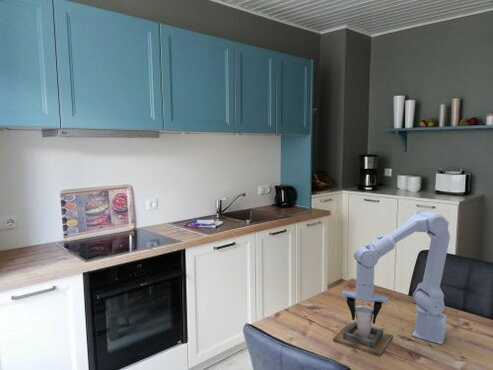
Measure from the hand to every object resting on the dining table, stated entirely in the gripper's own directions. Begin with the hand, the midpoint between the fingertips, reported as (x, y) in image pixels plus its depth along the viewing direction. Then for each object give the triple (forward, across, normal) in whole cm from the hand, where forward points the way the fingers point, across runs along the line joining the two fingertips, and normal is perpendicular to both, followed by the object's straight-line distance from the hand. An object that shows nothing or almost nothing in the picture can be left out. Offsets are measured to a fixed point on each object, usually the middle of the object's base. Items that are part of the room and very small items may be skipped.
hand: (363, 320), depth 128 cm
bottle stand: (+7, 0, 0) cm, 7 cm away
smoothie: (+6, 0, -1) cm, 6 cm away
